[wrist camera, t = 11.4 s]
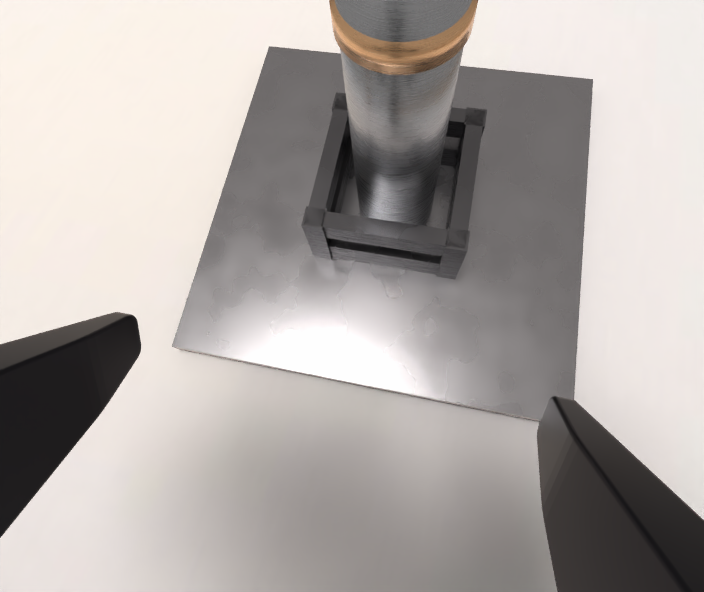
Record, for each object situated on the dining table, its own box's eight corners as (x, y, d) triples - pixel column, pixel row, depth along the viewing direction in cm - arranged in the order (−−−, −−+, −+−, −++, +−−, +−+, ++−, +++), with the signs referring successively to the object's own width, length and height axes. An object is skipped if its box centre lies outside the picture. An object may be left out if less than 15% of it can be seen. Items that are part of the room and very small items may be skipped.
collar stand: (565, 426, 21) (610, 424, 17) (178, 349, 24) (133, 330, 20) (587, 89, 27) (625, 23, 23) (272, 56, 29) (252, -9, 25)
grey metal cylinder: (383, 255, 24) (379, 21, 10) (342, 195, 25) (291, -80, 12) (450, 215, 24) (527, -59, 11) (406, 159, 25) (427, -147, 12)
